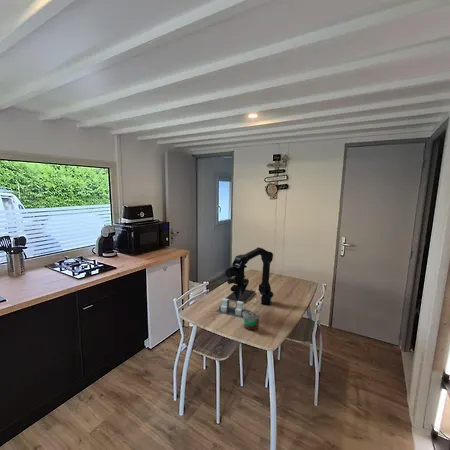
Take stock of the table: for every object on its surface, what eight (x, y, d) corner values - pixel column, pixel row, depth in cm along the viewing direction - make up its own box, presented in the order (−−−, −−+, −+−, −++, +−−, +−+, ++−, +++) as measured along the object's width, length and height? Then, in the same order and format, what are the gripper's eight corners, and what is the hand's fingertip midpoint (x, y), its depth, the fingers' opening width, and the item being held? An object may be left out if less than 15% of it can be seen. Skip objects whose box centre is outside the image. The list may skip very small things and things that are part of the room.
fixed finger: (230, 308, 181) (230, 298, 180) (226, 312, 175) (226, 302, 174) (224, 306, 183) (224, 297, 182) (220, 311, 177) (220, 300, 176)
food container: (238, 326, 158) (238, 311, 157) (244, 322, 162) (244, 308, 161) (253, 334, 149) (253, 318, 148) (260, 330, 154) (260, 314, 152)
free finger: (244, 311, 177) (244, 300, 176) (240, 315, 171) (240, 304, 169) (238, 309, 179) (238, 299, 178) (234, 314, 172) (234, 303, 171)
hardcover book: (255, 294, 208) (255, 291, 208) (244, 305, 188) (244, 302, 188) (237, 290, 216) (237, 287, 215) (224, 300, 196) (224, 298, 195)
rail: (251, 311, 177) (251, 308, 177) (245, 319, 167) (245, 315, 166) (222, 305, 187) (222, 302, 186) (215, 312, 176) (215, 309, 175)
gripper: (234, 269, 183) (234, 289, 185) (223, 277, 166) (223, 300, 168) (249, 271, 178) (248, 292, 180) (239, 279, 161) (239, 303, 164)
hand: (240, 296), depth 173 cm, fingers open, 9 cm apart
